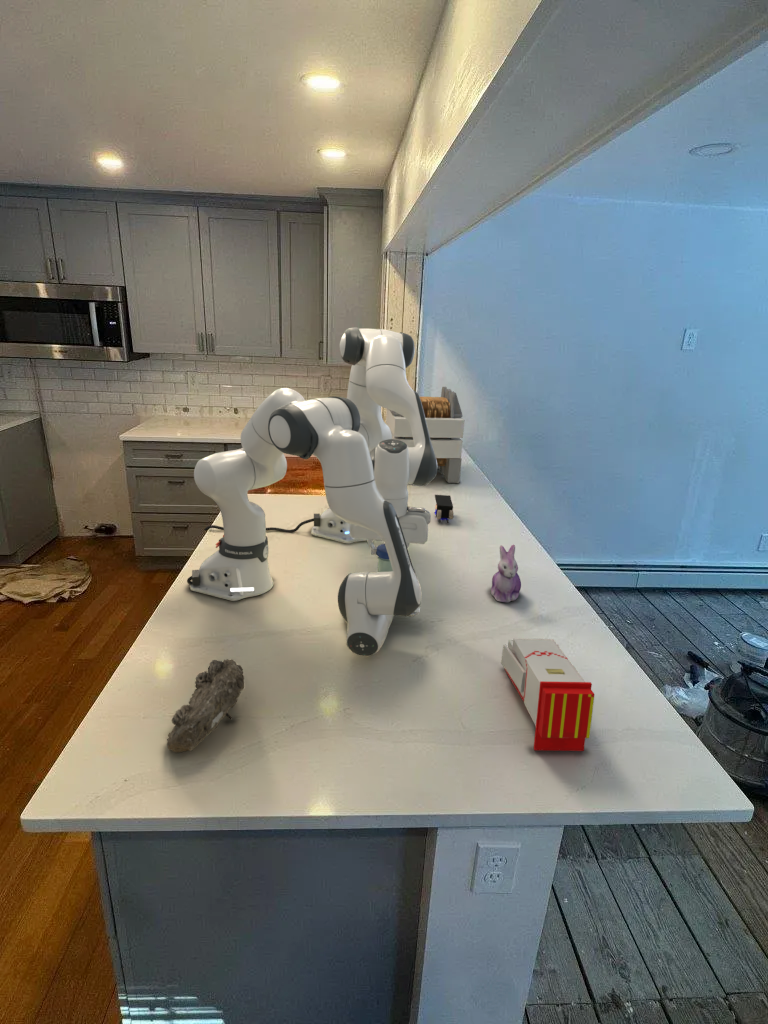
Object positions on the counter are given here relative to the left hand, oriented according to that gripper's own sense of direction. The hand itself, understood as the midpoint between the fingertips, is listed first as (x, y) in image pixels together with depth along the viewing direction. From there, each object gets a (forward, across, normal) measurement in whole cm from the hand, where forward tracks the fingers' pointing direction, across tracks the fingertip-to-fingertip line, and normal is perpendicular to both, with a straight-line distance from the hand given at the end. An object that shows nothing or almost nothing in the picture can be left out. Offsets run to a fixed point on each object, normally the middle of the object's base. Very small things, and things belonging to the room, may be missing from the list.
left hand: (386, 585), depth 151 cm
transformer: (+130, +8, +5) cm, 130 cm away
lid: (-1, 0, -11) cm, 11 cm away
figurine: (+12, -32, +5) cm, 35 cm away
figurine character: (+70, -9, +5) cm, 70 cm away
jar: (-1, 0, +5) cm, 5 cm away
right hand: (-1, 0, -9) cm, 9 cm away
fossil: (-53, +24, +5) cm, 58 cm away
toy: (-33, -38, +5) cm, 51 cm away
